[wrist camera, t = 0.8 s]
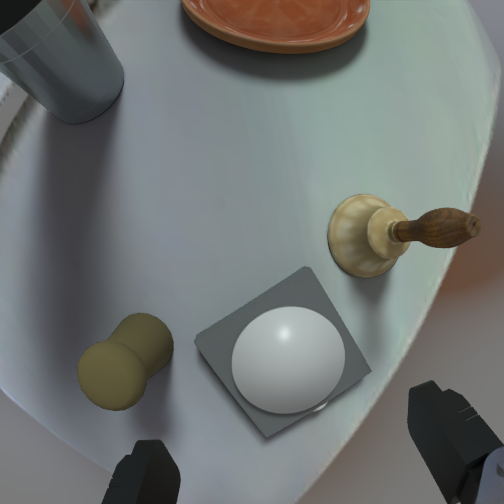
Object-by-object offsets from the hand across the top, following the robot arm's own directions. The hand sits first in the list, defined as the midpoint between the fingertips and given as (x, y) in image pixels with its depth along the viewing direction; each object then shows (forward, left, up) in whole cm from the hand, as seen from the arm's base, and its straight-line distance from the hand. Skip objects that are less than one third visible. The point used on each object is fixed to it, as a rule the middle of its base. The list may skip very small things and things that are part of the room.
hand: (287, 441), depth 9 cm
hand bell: (0, +14, -22) cm, 26 cm away
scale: (+5, +1, -21) cm, 22 cm away
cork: (-3, -10, -22) cm, 24 cm away
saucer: (-30, +23, -22) cm, 44 cm away
